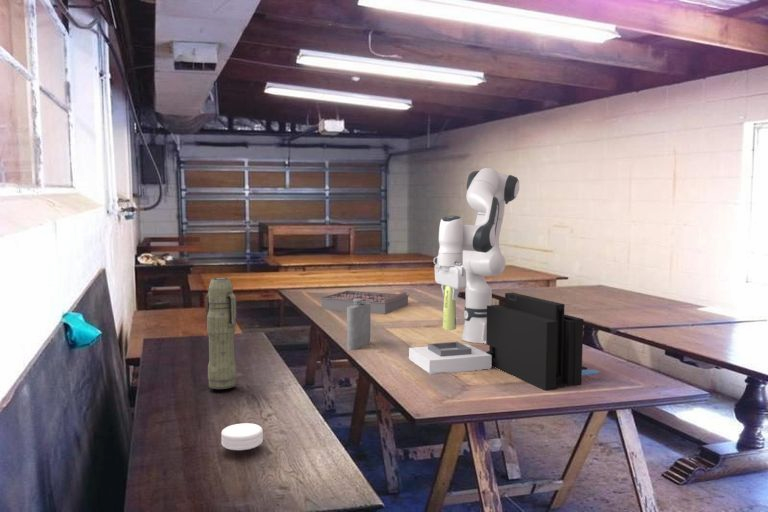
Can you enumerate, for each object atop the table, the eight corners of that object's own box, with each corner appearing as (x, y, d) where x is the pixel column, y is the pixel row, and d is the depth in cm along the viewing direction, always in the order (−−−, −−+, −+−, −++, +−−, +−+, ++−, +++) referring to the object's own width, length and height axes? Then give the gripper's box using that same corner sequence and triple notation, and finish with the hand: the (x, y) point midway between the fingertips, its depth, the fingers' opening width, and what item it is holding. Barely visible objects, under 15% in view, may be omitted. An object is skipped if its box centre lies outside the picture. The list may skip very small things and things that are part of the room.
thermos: (216, 379, 211) (214, 275, 209) (245, 383, 207) (243, 277, 204) (198, 386, 203) (196, 278, 200) (228, 390, 199) (226, 280, 196)
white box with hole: (466, 356, 245) (467, 338, 244) (491, 369, 226) (491, 349, 225) (408, 360, 237) (409, 342, 237) (429, 374, 218) (429, 354, 218)
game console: (485, 364, 233) (487, 292, 231) (552, 356, 245) (554, 288, 243) (545, 390, 201) (547, 307, 199) (618, 380, 213) (621, 301, 211)
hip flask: (352, 351, 252) (352, 302, 250) (343, 350, 254) (343, 301, 252) (371, 343, 266) (371, 297, 264) (363, 342, 268) (363, 296, 266)
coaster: (213, 447, 153) (212, 433, 153) (237, 433, 163) (237, 420, 162) (247, 453, 150) (247, 439, 149) (270, 439, 159) (270, 425, 159)
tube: (438, 328, 230) (439, 275, 229) (446, 326, 234) (447, 274, 233) (451, 331, 227) (452, 277, 225) (459, 329, 230) (460, 275, 229)
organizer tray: (347, 303, 372) (347, 287, 371) (409, 308, 355) (409, 291, 355) (319, 312, 343) (319, 294, 342) (385, 318, 326) (385, 299, 326)
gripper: (471, 263, 220) (470, 302, 221) (447, 258, 239) (446, 294, 240) (454, 263, 218) (454, 303, 219) (431, 258, 237) (431, 295, 238)
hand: (450, 298), depth 230 cm, fingers closed on tube, 6 cm apart
